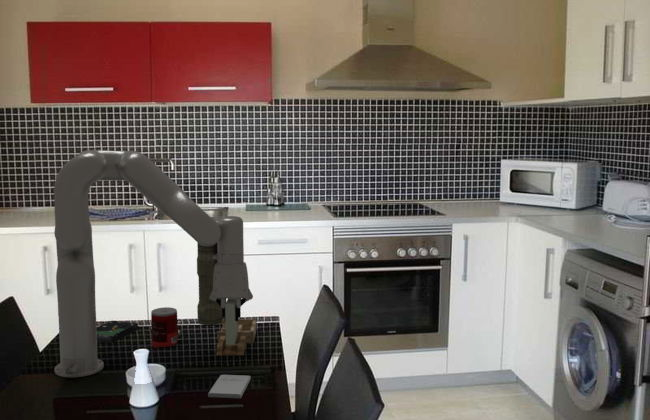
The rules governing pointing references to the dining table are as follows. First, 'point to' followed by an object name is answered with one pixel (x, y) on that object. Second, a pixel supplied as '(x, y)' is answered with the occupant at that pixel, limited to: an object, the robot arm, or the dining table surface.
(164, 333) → the canned food
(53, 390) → the dining table surface
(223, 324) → the offcut
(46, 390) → the dining table surface
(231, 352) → the stand
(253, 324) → the rack
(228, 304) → the grey-green flat slab
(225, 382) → the external hard drive
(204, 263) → the thermos
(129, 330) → the disk drive
